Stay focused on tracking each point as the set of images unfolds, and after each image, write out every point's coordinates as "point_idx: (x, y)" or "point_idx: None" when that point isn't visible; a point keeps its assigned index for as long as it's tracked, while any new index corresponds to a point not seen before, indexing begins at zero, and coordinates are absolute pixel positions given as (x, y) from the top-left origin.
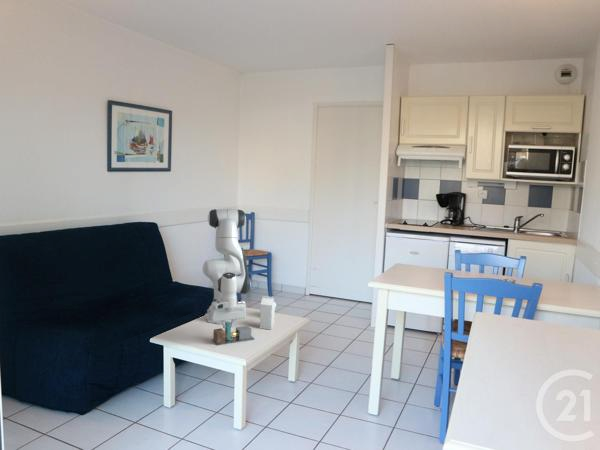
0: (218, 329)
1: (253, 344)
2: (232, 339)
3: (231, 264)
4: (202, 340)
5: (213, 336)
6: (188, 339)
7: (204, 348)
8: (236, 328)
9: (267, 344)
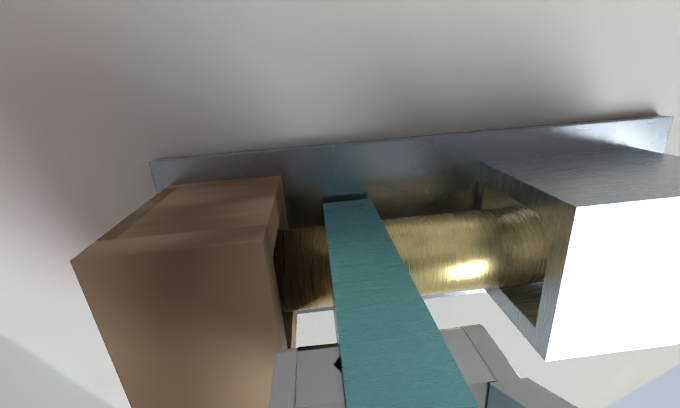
0: (185, 290)
1: (536, 367)
2: None
3: None
4: (16, 117)
5: (147, 207)
6: None
7: (55, 359)
8: (561, 232)
9: (633, 389)
